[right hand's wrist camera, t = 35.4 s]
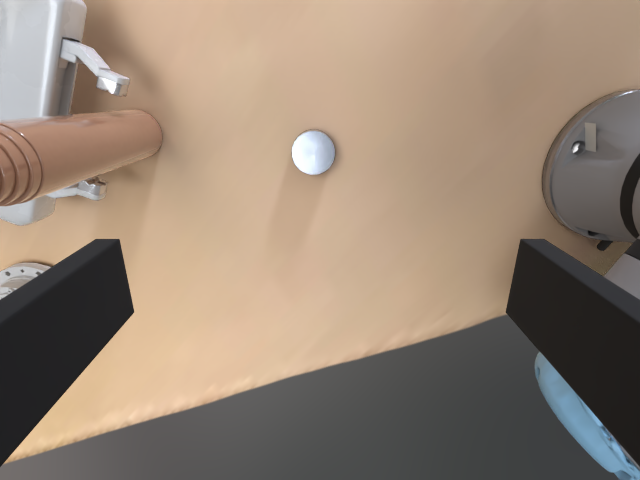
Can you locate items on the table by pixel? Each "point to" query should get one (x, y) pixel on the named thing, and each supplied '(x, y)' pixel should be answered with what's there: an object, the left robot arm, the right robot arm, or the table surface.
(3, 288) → the mechanical component
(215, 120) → the table surface
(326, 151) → the cap
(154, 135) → the wooden furniture leg
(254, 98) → the table surface
